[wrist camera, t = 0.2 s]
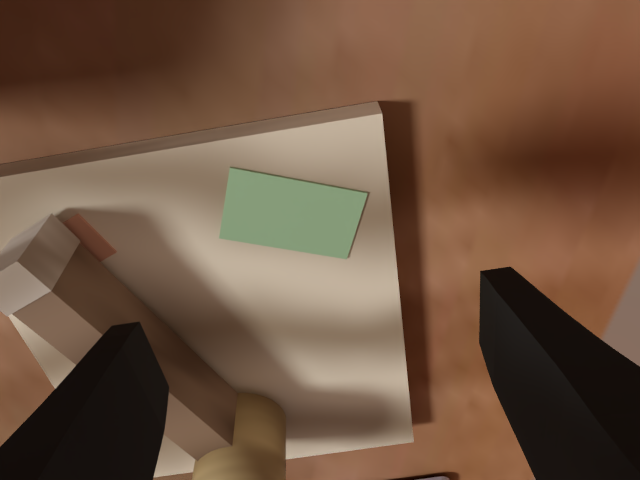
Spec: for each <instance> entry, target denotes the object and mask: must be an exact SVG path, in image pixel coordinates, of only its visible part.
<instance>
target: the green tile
mask: <svg viewBox="0 0 640 480" xmlns="http://www.w3.org/2000/svg"><path fill="white" fill-rule="evenodd" d="M367 194H368V193H367V192H364V191H358V190H353V189H348V188H342V187H337V186H331V185H326V184H321V183H315V182H310V181H305V180H299V179H294V178H288V177H283V176H278V175H272V174H267V173H261V172H256V171H251V170H245V169H240V168H235V167H230V170H229V177H228V183H227V190H226V196H225V203H224V209H223V216H222V222H221V229H220V235H219V239H225V240H231V241H238V242H244V243H250V244H256V245H262V246H268V247H274V248H280V249H287V250H293V251H299V252H305V253H311V254H317V255H323V256H329V257H335V258H342V259H347V257H348V254H349V251H350V248H351V245H352V241H353V238H354V235H355V232H356V229H357V226H358V222H359V219H360V216H361V213H362V210H363V207H364V204H365V200H366V197H367Z"/></svg>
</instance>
